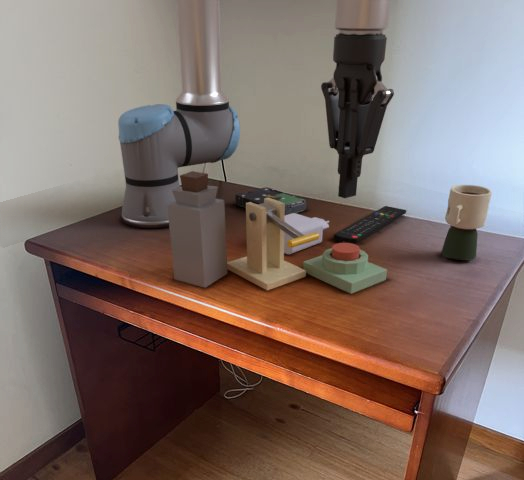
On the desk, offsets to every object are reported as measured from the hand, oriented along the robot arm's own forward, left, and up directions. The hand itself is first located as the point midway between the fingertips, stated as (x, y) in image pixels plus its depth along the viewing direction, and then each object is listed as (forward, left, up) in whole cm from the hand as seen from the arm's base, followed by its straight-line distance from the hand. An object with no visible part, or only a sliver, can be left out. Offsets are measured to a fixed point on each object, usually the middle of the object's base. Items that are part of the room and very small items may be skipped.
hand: (347, 195), depth 91 cm
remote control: (-13, +23, -14) cm, 30 cm away
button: (+1, 0, -11) cm, 11 cm away
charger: (-17, +6, -14) cm, 23 cm away
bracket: (-9, -10, -14) cm, 20 cm away
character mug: (+9, +23, -14) cm, 28 cm away
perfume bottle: (-15, -20, -14) cm, 29 cm away
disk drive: (-38, +15, -14) cm, 44 cm away
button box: (+1, 0, -14) cm, 14 cm away
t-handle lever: (-5, -10, -5) cm, 12 cm away
